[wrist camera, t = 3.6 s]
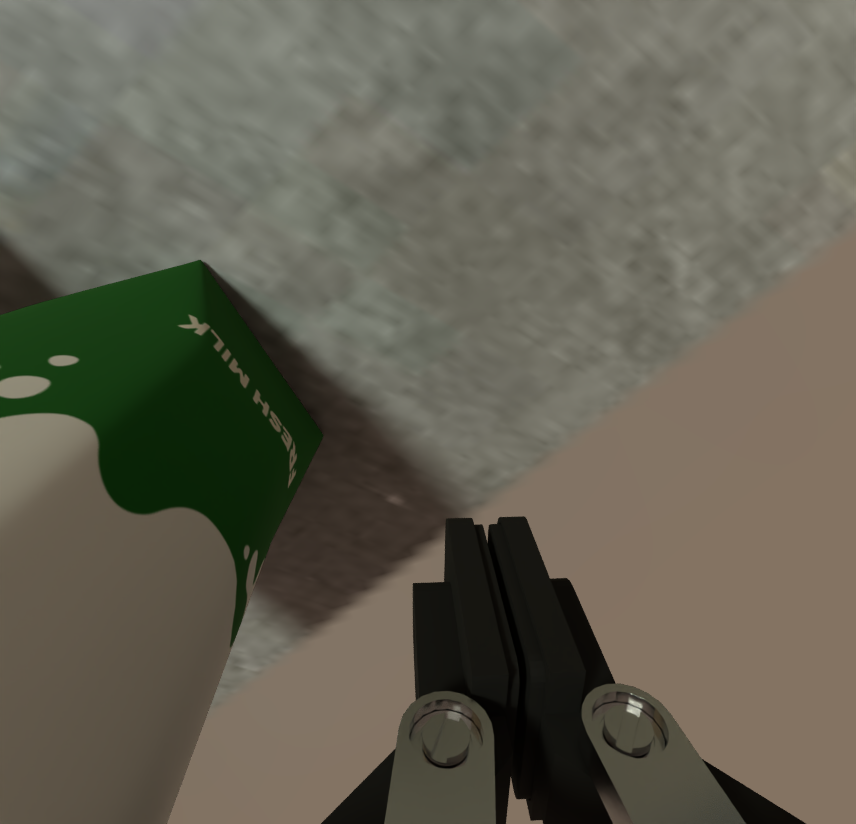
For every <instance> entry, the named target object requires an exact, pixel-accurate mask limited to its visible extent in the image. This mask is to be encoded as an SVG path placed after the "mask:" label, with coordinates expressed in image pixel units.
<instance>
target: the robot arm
mask: <svg viewBox="0 0 856 824" xmlns="http://www.w3.org/2000/svg"><path fill="white" fill-rule="evenodd" d="M413 643H414V669H415V690H416V691H415V692H416V701H415V702H413V703H412V704H411V705H410V706H409V708H408V709H407V710H406V712H405V713H404V714H403V717H402V720H401V723H400V726H399V730H398V737H397V744H396V749H395V750H394V751H393V752H392V753H391V754H390V755H389V756H388V757H387V758H386V759H385V760H384V761H383V762H382V763H381V764H380V765H379V766H378V767H377V768H376V769H375V770H374V771H373V772H372V773H371V774H370V775H369V776H368V777H367V778H366V779H365V780H364V781H363V782H362V783H361V784H360V785H359V786H358V787H357V788H356V789H355V790H354V791H353V792H352V793H351V794H350V795H349V796H348V797H347V798H346V799H345V800H344V801H343V802H342V803H341V804H340V805H339V806H338V807H337V808H336V809H335V810H334V811H333V812H332V813H331V814H330V815H329V816H328V817H327V818H326V819H325V820H324V821H323V822H322V823H321V824H506V817H507V807H508V797H509V787H510V777H511V778H512V784H513V789H514V793H515V797H516V799H526V801H527V805H528V810H529V815H530V819H531V820H543V824H805V823H804V822H803V821H801V820H799V819H798V818H796V817H794V816H793V815H791V814H790V813H788V812H787V811H785V810H783V809H782V808H780V807H778V806H777V805H775V804H773V803H772V802H770V801H769V800H767V799H766V798H764V797H762V796H761V795H759V794H758V793H756V792H754V791H753V790H751V789H749V788H748V787H746V786H745V785H743V784H741V783H740V782H738V781H736V780H735V779H733V778H731V777H730V776H729V775H727V774H725V773H724V772H722V771H720V770H719V769H717V768H716V767H714V766H712V765H711V764H709V763H708V762H706V761H704V760H703V759H701V757H700V756H699V754H698V753H697V752H696V750H695V749H694V747H693V746H692V744H691V743H690V741H689V740H688V738H687V737H686V735H685V734H684V733H683V731H682V730H681V728H680V727H679V725H678V724H677V722H676V721H675V720H674V718H673V717H672V715H671V714H670V713H669V712H668V710H667V709H666V708H665V707H664V706H663V705H662V704H661V703H660V702H659V701H658V700H656V699H655V698H654V697H652V696H651V695H650V694H648V693H646V692H644V691H642V690H640V689H637V688H636V687H633V686H628V685H624V684H615V681H614V679H613V677H612V674H611V672H610V670H609V667H608V665H607V663H606V661H605V658H604V656H603V654H602V651H601V649H600V647H599V645H598V642H597V640H596V638H595V636H594V634H593V631H592V629H591V626H590V625H589V622H588V620H587V617H586V615H585V613H584V611H583V608H582V606H581V604H580V601H579V599H578V597H577V595H576V592H575V590H574V588H573V586H572V584H571V582H570V581H569V580H568V579H567V578H557V579H550V578H549V575H548V573H547V570H546V567H545V565H544V562H543V560H542V557H541V555H540V552H539V550H538V547H537V544H536V542H535V540H534V537H533V534H532V532H531V529H530V527H529V524H528V521H527V519H526V518H525V517H500V518H499V519H498V523H497V524H491V525H489V530H488V544H487V540H486V536H485V532H484V528H483V525H474V522H473V519H472V518H450V519H446V531H445V572H444V582H437V583H436V582H435V583H413Z"/></svg>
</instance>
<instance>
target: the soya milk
mask: <svg viewBox="0 0 856 824" xmlns="http://www.w3.org/2000/svg"><path fill="white" fill-rule="evenodd" d="M322 438H323V434H322V432H321V431H320V429H319V428H318V427H317V425H316V424H315V422H314V421H313V419H312V418H311V417H310V415H309V414H308V412H307V411H306V409H305V408H304V407H303V405H302V404H301V402H300V401H299V399H298V398H297V397H296V395H295V394H294V392H293V391H292V389H291V388H290V387H289V385H288V384H287V382H286V381H285V379H284V378H283V377H282V375H281V374H280V372H279V371H278V369H277V368H276V366H275V365H274V364H273V362H272V361H271V359H270V358H269V356H268V355H267V354H266V352H265V351H264V349H263V348H262V346H261V345H260V344H259V342H258V341H257V339H256V338H255V336H254V335H253V334H252V332H251V331H250V329H249V328H248V326H247V325H246V324H245V322H244V321H243V319H242V318H241V316H240V315H239V314H238V312H237V311H236V309H235V308H234V306H233V305H232V304H231V302H230V301H229V299H228V298H227V296H226V295H225V293H224V292H223V291H222V289H221V288H220V286H219V285H218V283H217V282H216V281H215V279H214V278H213V276H212V275H211V273H210V272H209V271H208V269H207V268H206V266H205V265H204V263H203V262H202V261H201V260H198V261H194V262H191V263H187V264H184V265H180V266H176V267H173V268H169V269H165V270H161V271H157V272H153V273H150V274H146V275H142V276H138V277H135V278H131V279H127V280H123V281H119V282H116V283H112V284H108V285H104V286H100V287H97V288H93V289H89V290H85V291H82V292H78V293H74V294H71V295H67V296H63V297H60V298H56V299H52V300H49V301H45V302H41V303H38V304H35V305H31V306H28V307H24V308H21V309H18V310H15V311H12V312H9V313H6V314H2V315H0V824H167V822H168V819H169V816H170V813H171V811H172V808H173V806H174V803H175V800H176V797H177V794H178V792H179V789H180V787H181V784H182V781H183V779H184V775H185V773H186V770H187V768H188V765H189V762H190V759H191V757H192V754H193V751H194V749H195V746H196V743H197V741H198V738H199V735H200V732H201V730H202V727H203V724H204V722H205V719H206V716H207V714H208V711H209V708H210V705H211V703H212V700H213V697H214V695H215V692H216V689H217V686H218V684H219V681H220V678H221V676H222V673H223V670H224V668H225V665H226V662H227V659H228V657H229V654H230V651H231V649H232V646H233V643H234V641H235V638H236V635H237V632H238V630H239V627H240V624H241V622H242V619H243V616H244V614H245V611H246V608H247V606H248V603H249V600H250V597H251V595H252V592H253V589H254V587H255V584H256V581H257V579H258V576H259V573H260V571H261V568H262V565H263V563H264V560H265V557H266V554H267V552H268V549H269V546H270V544H271V541H272V539H273V537H274V535H275V533H276V531H277V529H278V527H279V525H280V523H281V521H282V519H283V517H284V515H285V513H286V511H287V509H288V507H289V505H290V503H291V501H292V499H293V497H294V495H295V493H296V491H297V489H298V487H299V485H300V483H301V481H302V479H303V477H304V474H305V472H306V470H307V468H308V466H309V464H310V462H311V460H312V458H313V456H314V454H315V452H316V450H317V448H318V446H319V444H320V442H321V440H322Z"/></svg>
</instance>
